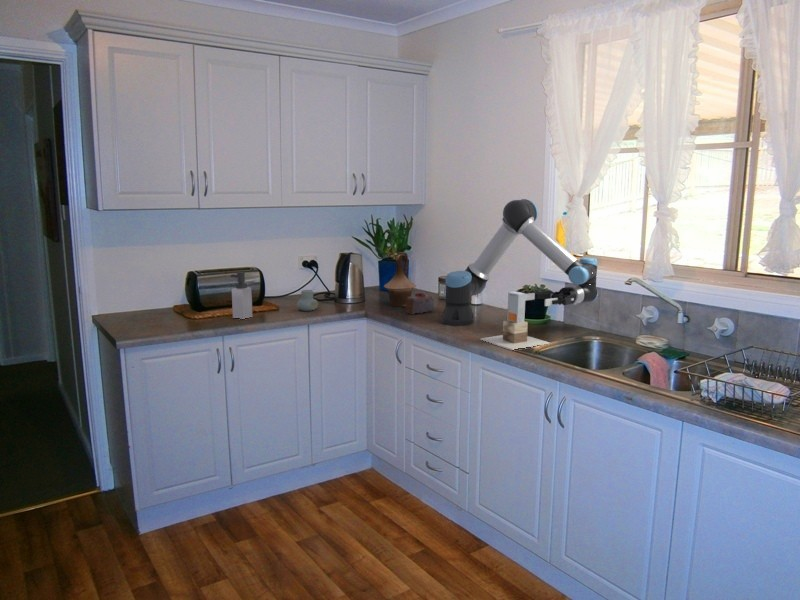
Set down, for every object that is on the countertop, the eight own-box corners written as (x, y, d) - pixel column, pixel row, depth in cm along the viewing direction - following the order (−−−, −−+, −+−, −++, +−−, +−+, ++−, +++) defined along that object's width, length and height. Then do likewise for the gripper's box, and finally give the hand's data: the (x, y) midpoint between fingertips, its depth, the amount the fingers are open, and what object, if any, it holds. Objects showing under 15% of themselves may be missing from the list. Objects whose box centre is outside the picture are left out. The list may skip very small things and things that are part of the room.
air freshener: (307, 307, 332) (306, 288, 330) (320, 309, 328) (320, 289, 327) (294, 311, 323) (293, 291, 321) (307, 312, 319) (307, 293, 317)
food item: (424, 309, 329) (425, 290, 327) (435, 311, 322) (435, 292, 321) (404, 312, 320) (404, 293, 318) (414, 315, 314) (415, 295, 312)
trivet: (480, 339, 266) (480, 338, 266) (516, 334, 276) (516, 332, 276) (512, 350, 249) (512, 349, 249) (550, 344, 259) (550, 342, 259)
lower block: (502, 339, 263) (502, 330, 263) (515, 337, 267) (515, 328, 266) (514, 343, 258) (514, 333, 257) (527, 341, 261) (527, 331, 260)
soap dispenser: (238, 315, 312) (236, 270, 308) (252, 317, 308) (250, 272, 304) (229, 318, 306) (227, 272, 302) (243, 319, 302) (241, 273, 298)
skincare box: (506, 320, 262) (507, 292, 260) (514, 319, 264) (515, 291, 262) (517, 323, 257) (518, 294, 255) (524, 322, 259) (526, 293, 257)
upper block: (502, 330, 263) (503, 320, 262) (515, 328, 266) (516, 319, 265) (514, 333, 257) (514, 324, 256) (527, 331, 260) (527, 322, 260)
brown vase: (393, 300, 352) (393, 250, 346) (421, 303, 344) (422, 251, 339) (378, 306, 336) (378, 253, 331) (407, 309, 329) (407, 255, 323)
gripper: (592, 309, 265) (555, 314, 254) (549, 299, 286) (513, 304, 275) (593, 291, 264) (555, 295, 253) (550, 282, 285) (513, 286, 274)
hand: (533, 300), depth 264 cm, fingers open, 13 cm apart
